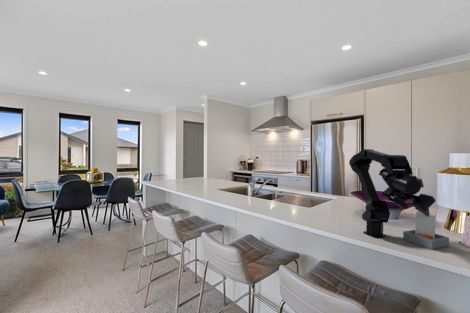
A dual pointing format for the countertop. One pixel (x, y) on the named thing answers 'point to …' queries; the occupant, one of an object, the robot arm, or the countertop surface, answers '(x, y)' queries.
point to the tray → (426, 240)
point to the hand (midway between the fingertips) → (416, 211)
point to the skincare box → (425, 225)
